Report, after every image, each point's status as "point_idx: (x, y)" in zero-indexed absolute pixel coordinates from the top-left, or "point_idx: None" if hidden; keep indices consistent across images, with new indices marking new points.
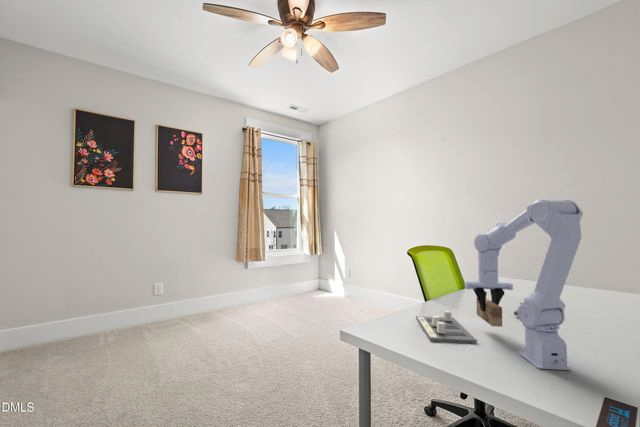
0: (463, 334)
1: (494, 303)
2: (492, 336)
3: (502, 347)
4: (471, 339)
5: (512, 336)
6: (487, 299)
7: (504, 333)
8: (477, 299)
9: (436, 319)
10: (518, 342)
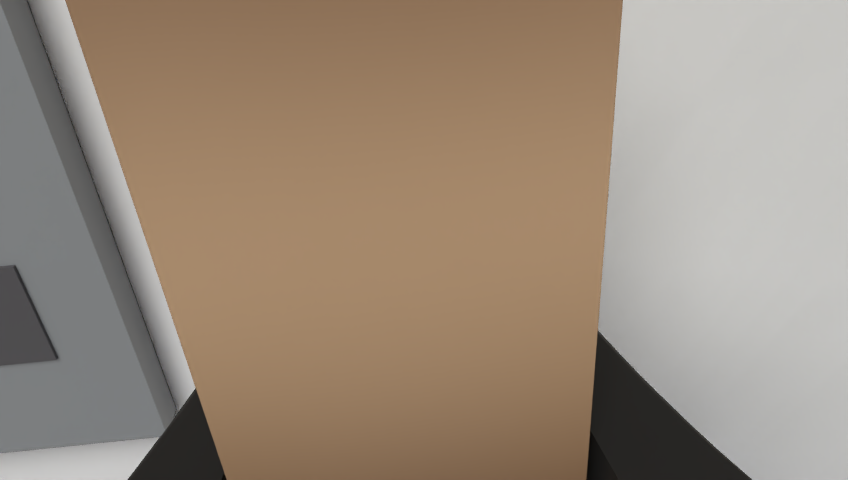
0: (17, 328)
1: None
2: None
3: None
4: (112, 431)
5: (694, 125)
6: (569, 227)
7: (650, 22)
8: (106, 35)
9: None
10: (644, 298)
